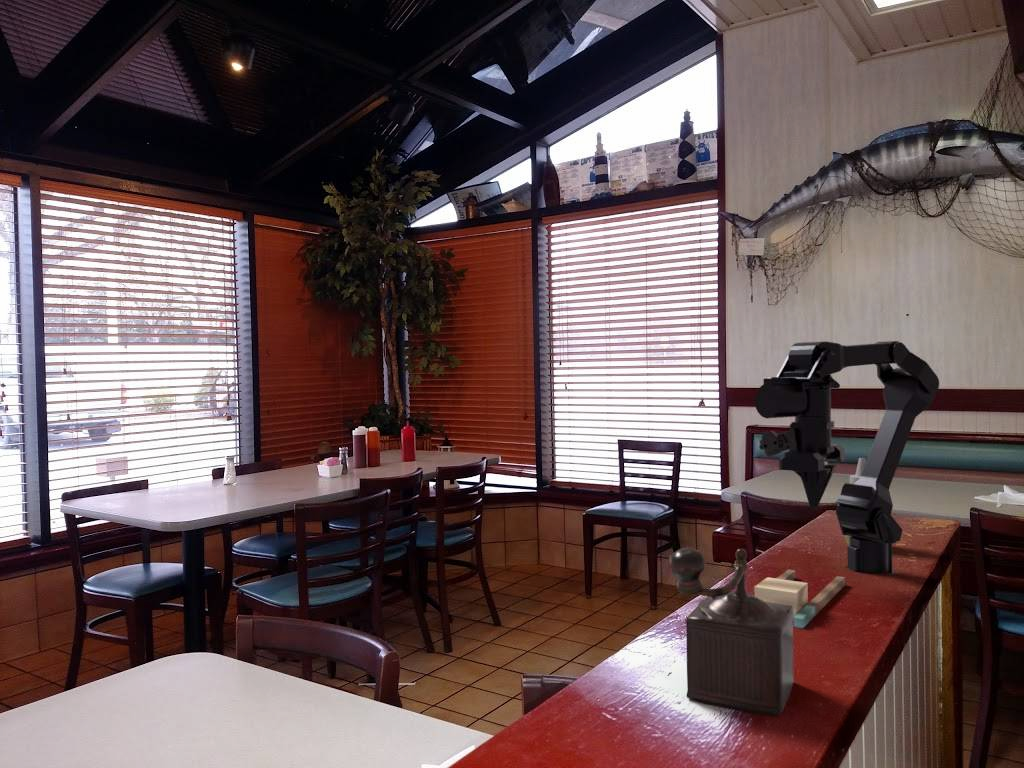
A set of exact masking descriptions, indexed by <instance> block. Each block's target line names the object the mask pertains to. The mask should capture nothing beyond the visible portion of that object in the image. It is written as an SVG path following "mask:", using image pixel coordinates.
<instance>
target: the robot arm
mask: <svg viewBox="0 0 1024 768" xmlns="http://www.w3.org/2000/svg"><path fill="white" fill-rule="evenodd" d="M891 364H893V365H894V364H896V365H897V367H896V368H893V366H892V365H891ZM868 365H875V366H876V375H877V378H878V379H879V380H880V382H881V384H882V385H883V386H884V387H883V390H882V395H883V400H884V404H885V406H886V407H885V408H886V409H885V412H884V415H883V417H882V419H881V422H880V423H879V424H880V425H879V428H878V430H877V433H876V435H875V438H874V439H873V442H872V444H871V445H872V446H871V448H870V451H869V454H868V456H867V458H866V459H867V460H866V464H865V466H864V469H863V471H862V474H861V477H860V478H859V480H857V481H856V482H855V483H854V484H852V483H850V482H844V484H843V485H842V487H841V492H840V494H839V497H838V498H837V499H836V501H835V504H837V505H836V509H835V515H836V517H837V521H838V524H839V527H840V531H841V534H842V535H843V536H844V535H848V536H852V537H850V545H849V546H848V545H847V565H844V568H845V569H849V570H851V571H853V572H855V573H868V574H892V575H899V571H895V570H893V544H896V543H897V542H901V538H902V534H903V528H902V527H901V526H900V525H899V523H898V522H897V521H896V519H895V518H894V517H893V516H892V512H893V511H892V510H893V507H894V504H893V501H892V496H891V493H890V487H891V485H892V482H893V479H894V477H895V475H896V470H897V468H898V465H899V463H900V460H901V457H902V454H903V452H904V449H905V447H906V444H907V441H908V439H909V436H910V433H911V430H912V428H913V426H914V422H915V420H916V418H917V417H919V415H920V414H922V412H924V411H925V410H927V408H928V407H930V406H931V404H932V403H933V401H934V399H935V397H936V395H937V393H938V391H939V387H940V378H939V377H938V375H937V373H935V371H934V370H933V369H932V367H931V366H930V364H929V363H928V362H927V361H926V360H924V359H922V358H921V357H919V356H917V355H916V354H914V353H913V352H911V351H910V350H909V348H908V347H906V345H905V343H903V342H901V341H898V340H891V341H890V340H888V341H887V340H886V341H877V342H875V343H863V344H851V345H849V344H848V345H844V344H840V343H839V342H837V343H836V342H831V341H807V342H796V343H794V344H792V345H791V348H790V350H789V352H788V355H787V356H786V358H785V360H784V362H783V363H782V366H781V367H780V369H779V371H778V373H777V374H776V376H765V377H763V384H762V385H761V386H759V388H758V389H757V391H756V393H755V396H754V407H755V408H756V409H755V410H756V411H757V413H758V414H759V416H760V417H763V418H764V419H776V418H777V419H778V418H779V419H780V418H782V419H783V418H794V421H791V423H790V424H789V431H785V432H781V433H779V434H777V433H776V432H775V431H774V430H769V431H767V432H764V433H762V435H761V439H760V440H759V449H760V450H762V451H763V453H764V455H765V458H769V457H772V456H775V455H779V454H780V453H782V452H784V453H783V454H782V455H780V457H778V469H779V470H780V471H790V472H791V471H792V472H794V473H795V474H796V475H797V476H798V477H799V478H800V479H801V482H802V484H803V489H804V491H805V494H806V495H805V496H806V498H807V502H808V505H809V507H810V508H811V509H812V508H813V509H817V508H818V507H819V505H820V504H821V503H820V502H821V500H822V498H823V495H824V493H825V491H826V490H827V487H828V484H829V482H830V480H831V478H832V476H833V474H834V472H835V470H836V468H837V464H829V463H828V460H837V462H843V461H845V460H846V459H845V458H846V454H845V453H846V449H845V448H844V447H843V446H842V445H841V444H839V443H832V428H835V421H834V420H832V410H831V409H832V402H831V401H832V400H831V399H832V398H831V397H832V396H831V392H832V391H831V390H832V389H839V388H841V384H840V383H839V382H838V381H837V380H836V379H834V378H833V377H832V375H834V374H835V373H839V372H841V371H842V370H844V369H845V368H848V367H857V366H868Z"/></svg>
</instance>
